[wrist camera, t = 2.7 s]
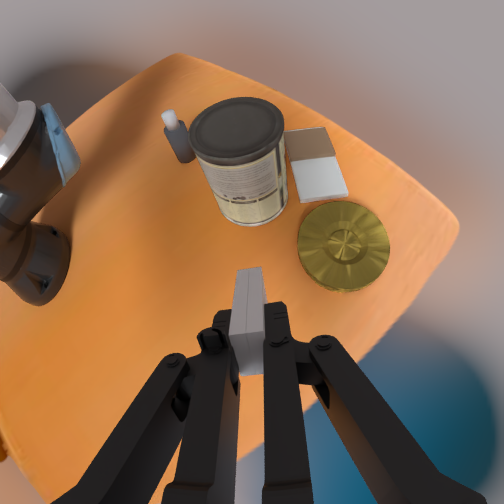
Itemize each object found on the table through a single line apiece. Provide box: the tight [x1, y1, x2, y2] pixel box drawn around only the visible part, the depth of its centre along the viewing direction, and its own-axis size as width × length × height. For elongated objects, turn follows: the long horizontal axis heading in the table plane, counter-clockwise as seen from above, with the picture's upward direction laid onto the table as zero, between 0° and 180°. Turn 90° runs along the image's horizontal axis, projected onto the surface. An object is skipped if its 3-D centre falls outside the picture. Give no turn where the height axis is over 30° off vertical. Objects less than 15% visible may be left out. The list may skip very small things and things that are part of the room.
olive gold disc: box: [297, 201, 390, 293], centre depth 34 cm, size 12×12×2 cm
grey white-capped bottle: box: [161, 109, 196, 163], centre depth 40 cm, size 3×3×10 cm
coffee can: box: [188, 97, 288, 227], centre depth 33 cm, size 10×10×14 cm
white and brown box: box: [283, 127, 348, 203], centre depth 40 cm, size 7×14×2 cm, turn 6°
